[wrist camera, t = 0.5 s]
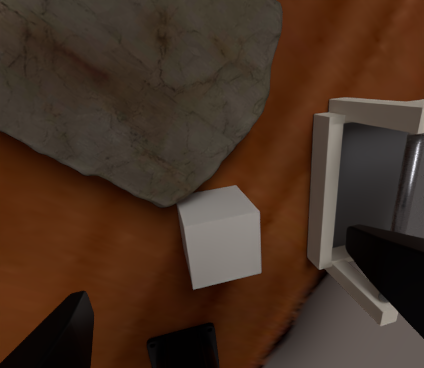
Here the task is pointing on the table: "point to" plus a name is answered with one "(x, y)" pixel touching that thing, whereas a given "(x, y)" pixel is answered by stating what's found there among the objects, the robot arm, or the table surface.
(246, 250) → the light grey cube
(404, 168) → the trapdoor
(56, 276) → the table surface
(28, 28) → the marble piece
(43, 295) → the table surface
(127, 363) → the table surface
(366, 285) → the frame
